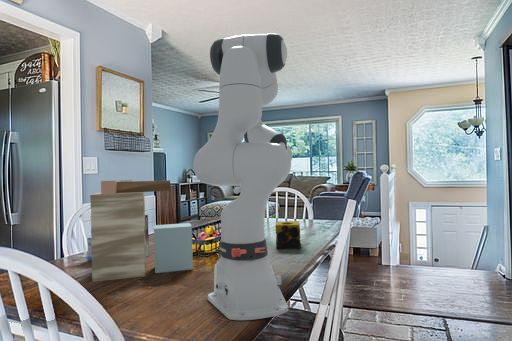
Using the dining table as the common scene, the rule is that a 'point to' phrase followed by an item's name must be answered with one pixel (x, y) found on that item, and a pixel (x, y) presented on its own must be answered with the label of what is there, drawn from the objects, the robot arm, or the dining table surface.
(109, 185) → the terracotta block
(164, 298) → the dining table surface
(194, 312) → the dining table surface
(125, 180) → the cream block
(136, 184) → the rail
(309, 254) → the dining table surface
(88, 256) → the medicine box
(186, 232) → the step
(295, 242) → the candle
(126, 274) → the grey wood block
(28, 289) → the dining table surface
